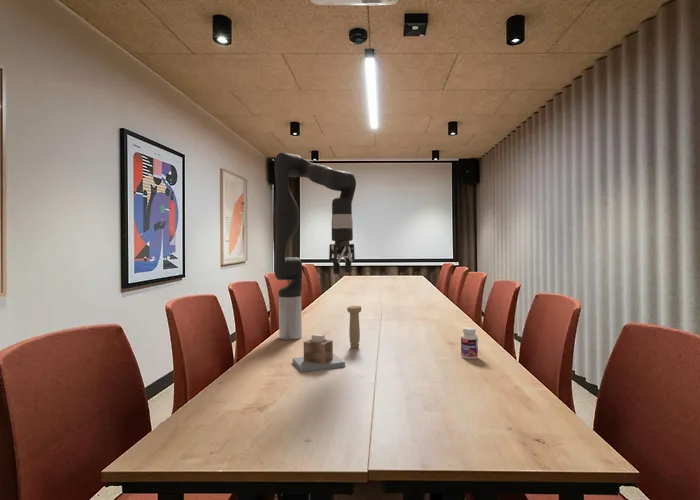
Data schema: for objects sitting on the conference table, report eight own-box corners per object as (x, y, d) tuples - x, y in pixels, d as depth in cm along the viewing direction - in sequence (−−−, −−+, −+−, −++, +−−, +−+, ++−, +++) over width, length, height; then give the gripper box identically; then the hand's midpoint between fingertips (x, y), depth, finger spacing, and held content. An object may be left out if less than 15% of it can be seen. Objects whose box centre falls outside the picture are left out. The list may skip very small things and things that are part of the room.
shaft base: (292, 362, 133) (292, 333, 133) (333, 357, 138) (333, 329, 138) (301, 372, 122) (301, 340, 122) (345, 366, 128) (344, 336, 128)
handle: (363, 345, 154) (363, 306, 153) (357, 350, 148) (357, 308, 148) (352, 344, 156) (351, 305, 155) (345, 348, 150) (344, 308, 149)
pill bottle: (460, 358, 135) (459, 329, 135) (462, 354, 140) (461, 326, 140) (477, 360, 133) (476, 330, 133) (478, 355, 138) (478, 327, 138)
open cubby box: (303, 360, 129) (303, 340, 129) (313, 356, 134) (313, 337, 134) (323, 363, 126) (323, 343, 126) (332, 359, 131) (332, 339, 131)
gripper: (342, 228, 153) (343, 271, 153) (322, 227, 141) (323, 274, 141) (360, 227, 150) (360, 272, 150) (341, 226, 137) (342, 274, 137)
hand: (342, 273), depth 145 cm, fingers open, 8 cm apart
